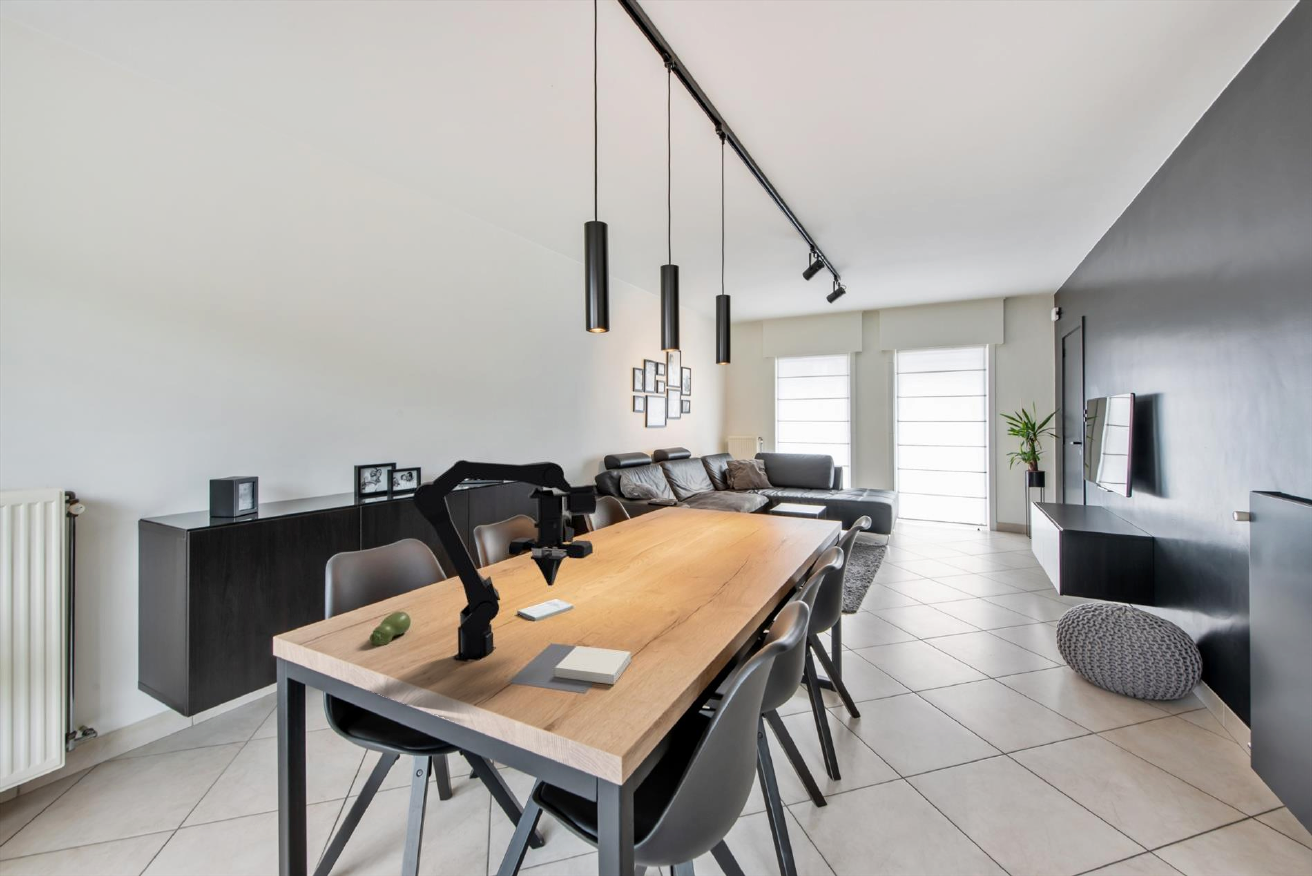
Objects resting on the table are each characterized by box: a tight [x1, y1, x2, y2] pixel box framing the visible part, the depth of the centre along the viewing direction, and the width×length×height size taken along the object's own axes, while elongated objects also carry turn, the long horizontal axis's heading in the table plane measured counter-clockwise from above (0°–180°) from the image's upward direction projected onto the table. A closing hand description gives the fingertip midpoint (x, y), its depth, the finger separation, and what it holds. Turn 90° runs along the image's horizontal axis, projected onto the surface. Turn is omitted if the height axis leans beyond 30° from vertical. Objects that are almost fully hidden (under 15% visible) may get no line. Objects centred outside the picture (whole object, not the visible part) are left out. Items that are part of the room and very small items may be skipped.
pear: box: [369, 611, 412, 646], centre depth 117 cm, size 6×5×10 cm
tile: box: [555, 645, 632, 685], centre depth 99 cm, size 2×10×12 cm
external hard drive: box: [516, 598, 574, 622], centre depth 133 cm, size 2×8×12 cm
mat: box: [506, 643, 595, 694], centre depth 100 cm, size 16×18×1 cm
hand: (550, 585), depth 113 cm, fingers closed
